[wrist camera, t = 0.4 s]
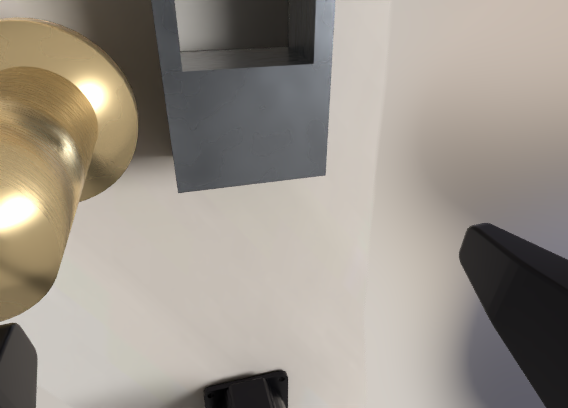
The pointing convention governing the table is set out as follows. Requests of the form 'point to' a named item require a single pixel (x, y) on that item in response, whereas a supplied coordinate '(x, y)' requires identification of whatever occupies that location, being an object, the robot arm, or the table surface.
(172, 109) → the steel hitch block
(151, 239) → the table surface
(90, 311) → the table surface
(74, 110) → the brass pin
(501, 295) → the robot arm
